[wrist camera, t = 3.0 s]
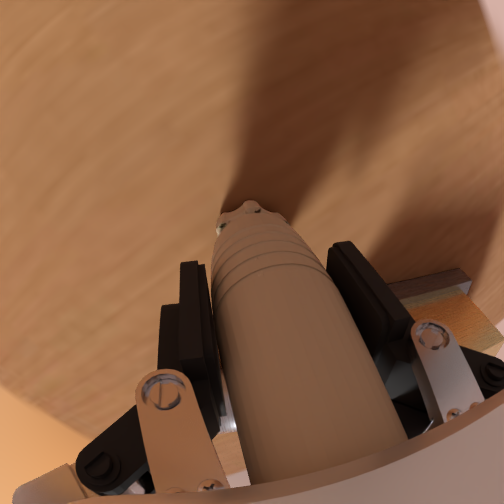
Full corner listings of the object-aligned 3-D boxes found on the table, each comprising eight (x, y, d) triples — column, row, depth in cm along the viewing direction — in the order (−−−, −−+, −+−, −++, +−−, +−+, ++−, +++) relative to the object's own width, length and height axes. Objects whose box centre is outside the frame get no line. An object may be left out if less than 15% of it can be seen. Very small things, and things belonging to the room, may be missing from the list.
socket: (186, 316, 16) (191, 427, 11) (459, 268, 18) (517, 328, 13) (214, 417, 22) (225, 492, 16) (417, 368, 24) (450, 423, 18)
